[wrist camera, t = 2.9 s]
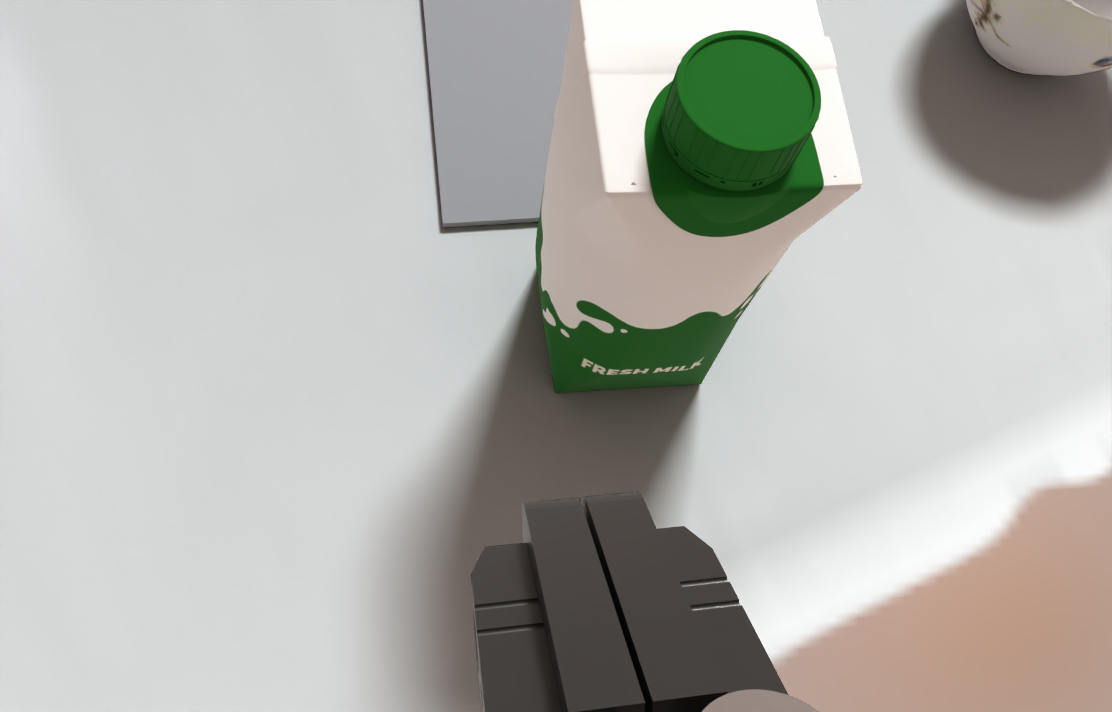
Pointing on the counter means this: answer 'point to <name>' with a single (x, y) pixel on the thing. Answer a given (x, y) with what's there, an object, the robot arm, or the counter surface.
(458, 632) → the counter surface
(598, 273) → the milk carton
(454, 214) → the slate mat
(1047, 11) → the teacup
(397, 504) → the counter surface
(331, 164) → the counter surface
